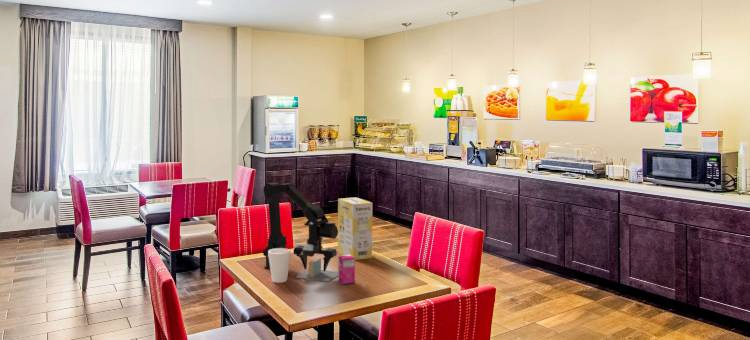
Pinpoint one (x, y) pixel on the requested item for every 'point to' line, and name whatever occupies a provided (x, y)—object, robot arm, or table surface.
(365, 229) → the pasta box
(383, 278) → the table surface
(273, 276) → the foam cup
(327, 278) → the mat
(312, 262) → the tile
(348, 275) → the supplement box
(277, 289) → the table surface
